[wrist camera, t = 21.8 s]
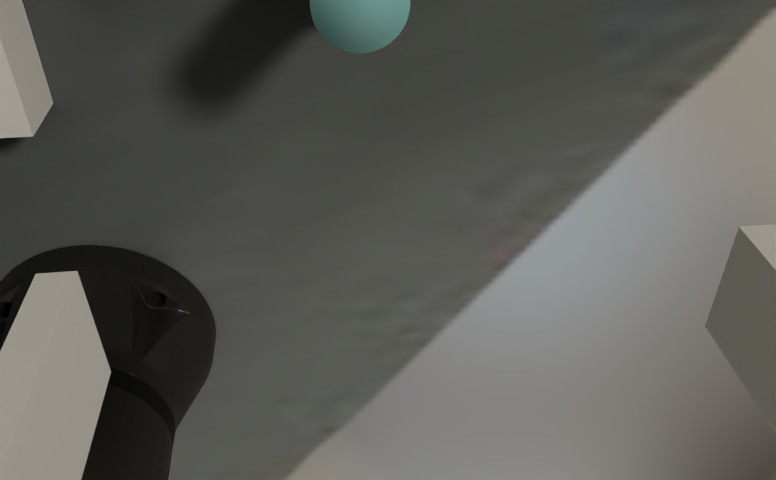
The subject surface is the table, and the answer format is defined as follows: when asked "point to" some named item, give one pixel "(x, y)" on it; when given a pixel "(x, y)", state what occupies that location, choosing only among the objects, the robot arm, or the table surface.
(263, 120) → the table surface
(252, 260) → the table surface
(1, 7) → the grey block with rod
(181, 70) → the table surface
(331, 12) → the plug
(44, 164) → the table surface
